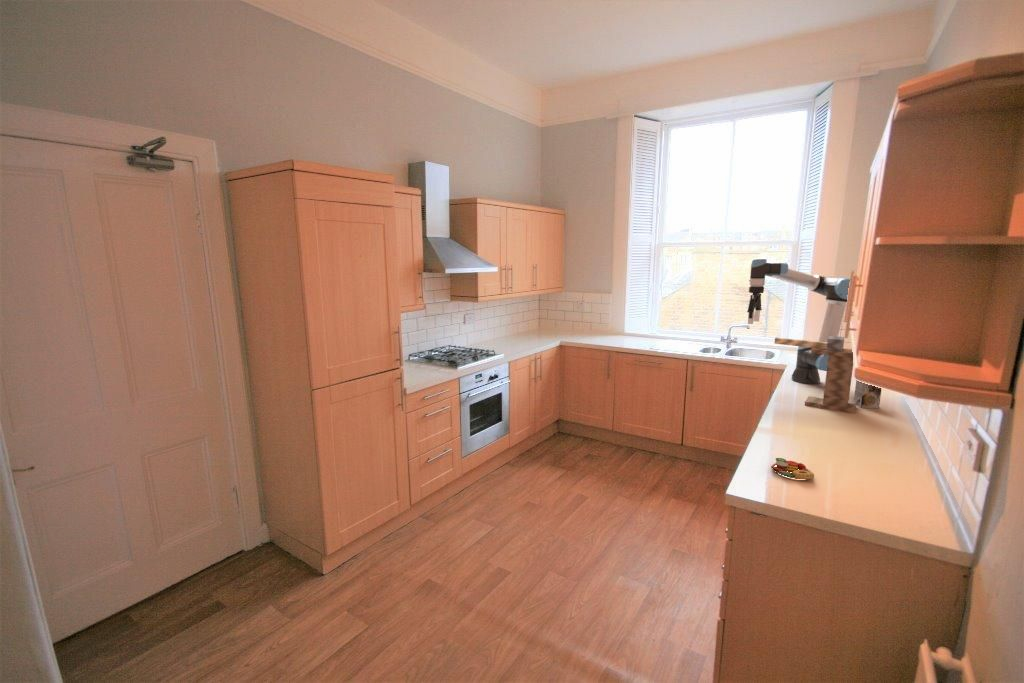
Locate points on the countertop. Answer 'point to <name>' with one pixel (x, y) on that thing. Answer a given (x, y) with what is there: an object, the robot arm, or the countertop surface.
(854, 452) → the countertop surface
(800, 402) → the countertop surface
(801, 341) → the wooden handled hammer
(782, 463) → the toy food set
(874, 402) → the coffee box
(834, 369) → the walnut stand
